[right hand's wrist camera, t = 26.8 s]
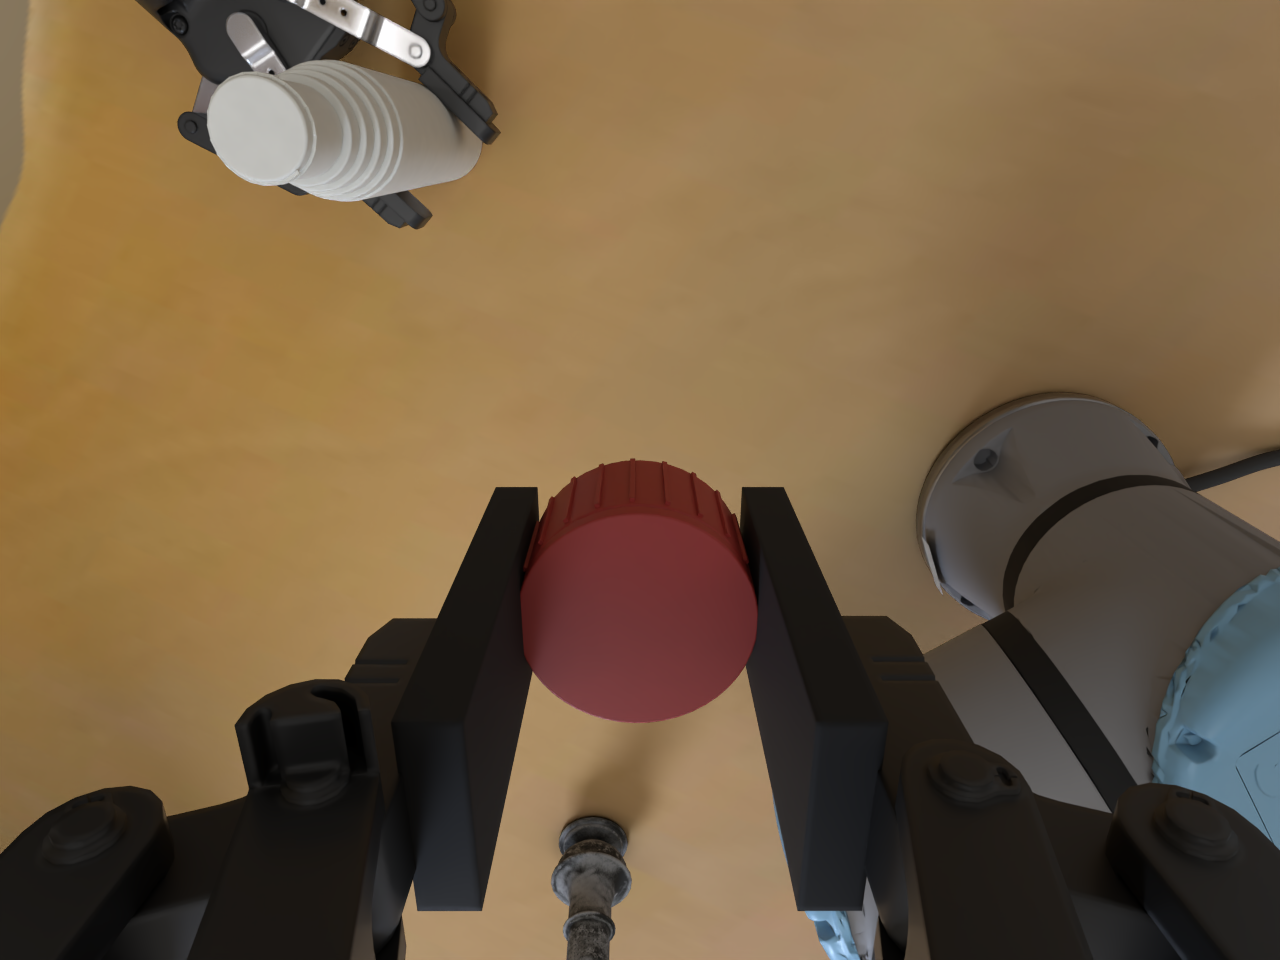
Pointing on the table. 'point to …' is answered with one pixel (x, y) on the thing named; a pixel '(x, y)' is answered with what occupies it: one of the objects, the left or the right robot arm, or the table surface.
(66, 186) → the table surface
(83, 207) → the table surface
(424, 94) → the bottle
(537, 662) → the cap
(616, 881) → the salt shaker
